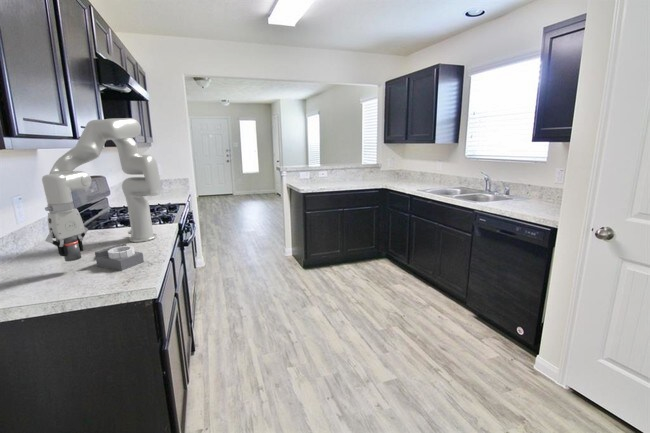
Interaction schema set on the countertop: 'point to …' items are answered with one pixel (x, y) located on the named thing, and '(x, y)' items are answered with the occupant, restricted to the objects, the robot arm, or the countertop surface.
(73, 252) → the lens
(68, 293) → the countertop surface
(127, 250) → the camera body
